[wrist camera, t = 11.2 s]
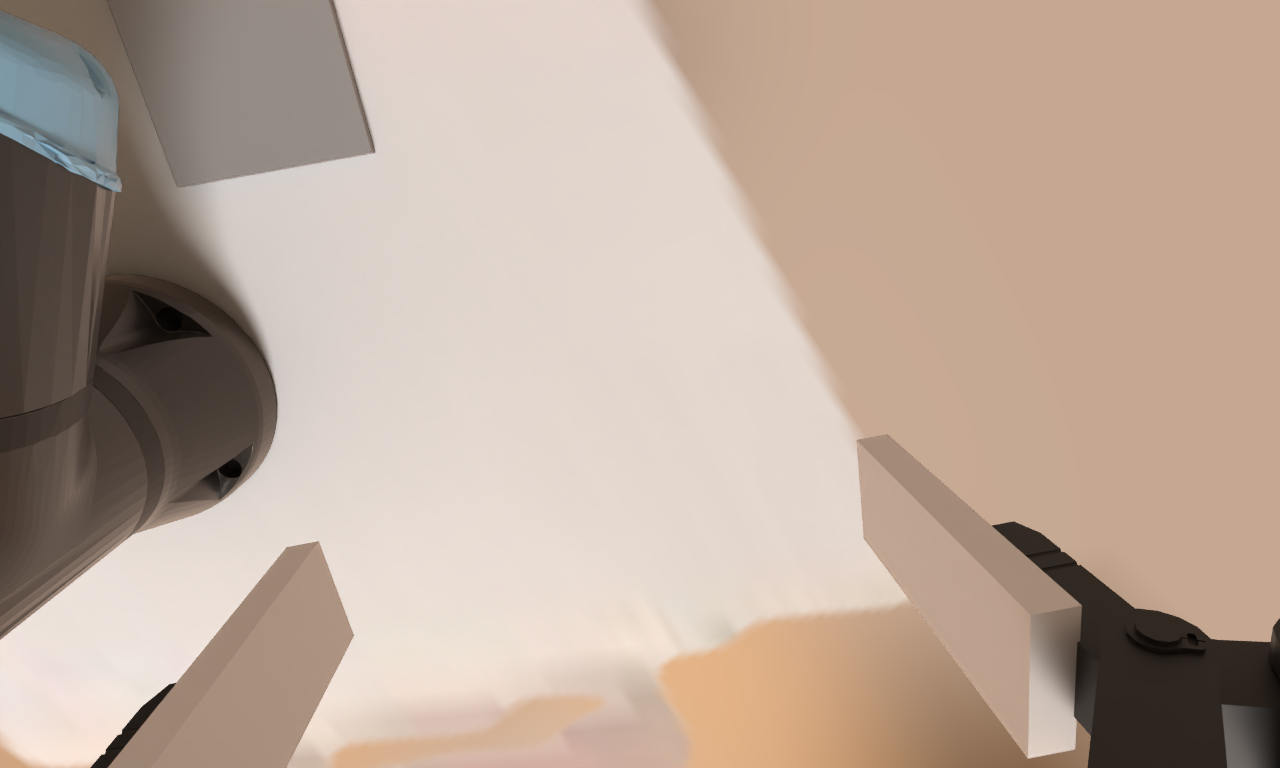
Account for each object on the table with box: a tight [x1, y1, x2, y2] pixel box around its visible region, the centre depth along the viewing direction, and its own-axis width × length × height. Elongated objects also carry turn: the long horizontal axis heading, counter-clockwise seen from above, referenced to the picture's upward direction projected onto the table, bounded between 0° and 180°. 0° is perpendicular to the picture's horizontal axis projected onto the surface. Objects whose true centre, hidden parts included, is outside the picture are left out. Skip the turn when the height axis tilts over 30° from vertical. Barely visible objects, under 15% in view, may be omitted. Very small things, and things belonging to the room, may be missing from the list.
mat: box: [107, 0, 375, 187], centre depth 36 cm, size 11×11×1 cm
